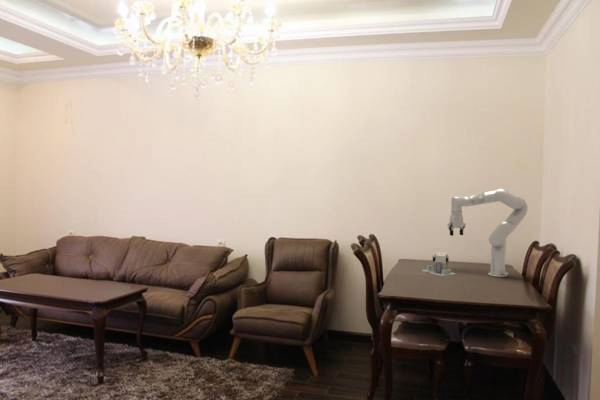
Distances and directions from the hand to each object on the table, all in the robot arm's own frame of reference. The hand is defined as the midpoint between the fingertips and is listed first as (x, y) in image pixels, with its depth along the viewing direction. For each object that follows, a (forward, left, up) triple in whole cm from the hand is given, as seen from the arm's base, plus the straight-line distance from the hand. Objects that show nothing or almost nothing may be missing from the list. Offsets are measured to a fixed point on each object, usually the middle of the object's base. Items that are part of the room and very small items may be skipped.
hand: (456, 235), depth 352 cm
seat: (-3, +19, -27) cm, 33 cm away
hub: (-3, +19, -26) cm, 32 cm away
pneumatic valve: (+11, +6, -27) cm, 30 cm away
